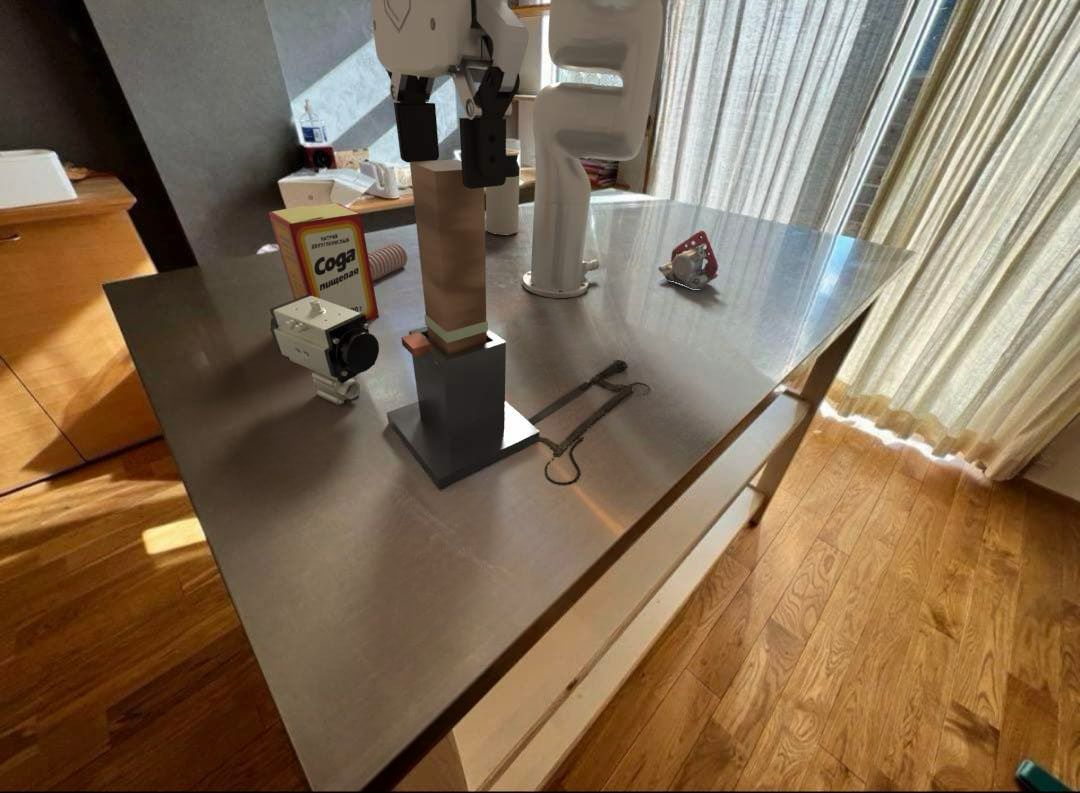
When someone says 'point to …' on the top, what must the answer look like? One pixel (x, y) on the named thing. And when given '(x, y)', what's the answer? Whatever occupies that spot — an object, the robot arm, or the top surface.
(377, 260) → the coil
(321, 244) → the baking soda box
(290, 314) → the pneumatic valve
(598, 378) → the hacksaw
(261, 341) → the top surface
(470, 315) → the column
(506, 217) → the travel mug
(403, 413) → the sleeve
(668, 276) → the brake caliper
